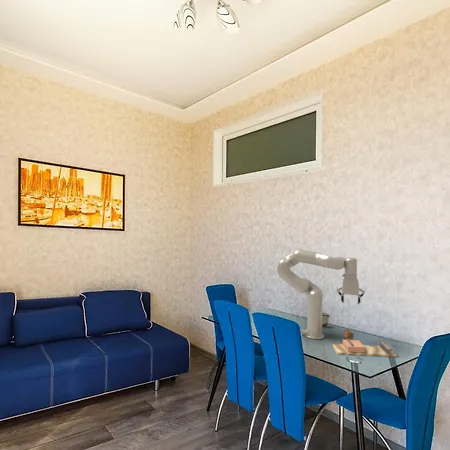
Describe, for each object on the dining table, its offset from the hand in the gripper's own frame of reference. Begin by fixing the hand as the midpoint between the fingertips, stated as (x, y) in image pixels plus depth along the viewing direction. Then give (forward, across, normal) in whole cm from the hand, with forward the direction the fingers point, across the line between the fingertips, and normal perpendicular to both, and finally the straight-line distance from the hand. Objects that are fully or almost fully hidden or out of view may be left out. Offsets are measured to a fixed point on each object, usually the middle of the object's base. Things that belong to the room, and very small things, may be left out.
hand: (350, 303), depth 223 cm
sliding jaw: (+23, +3, -19) cm, 30 cm away
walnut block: (+25, -1, -3) cm, 25 cm away
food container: (+24, -23, +23) cm, 41 cm away
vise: (+25, +8, -17) cm, 31 cm away
